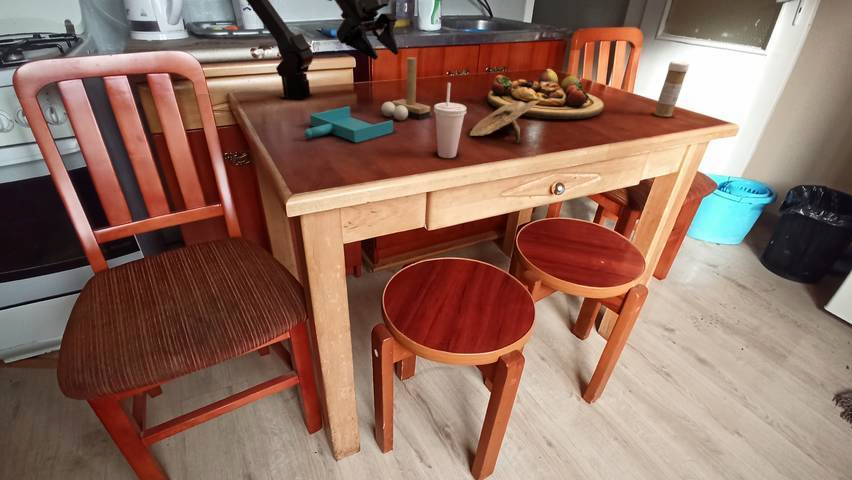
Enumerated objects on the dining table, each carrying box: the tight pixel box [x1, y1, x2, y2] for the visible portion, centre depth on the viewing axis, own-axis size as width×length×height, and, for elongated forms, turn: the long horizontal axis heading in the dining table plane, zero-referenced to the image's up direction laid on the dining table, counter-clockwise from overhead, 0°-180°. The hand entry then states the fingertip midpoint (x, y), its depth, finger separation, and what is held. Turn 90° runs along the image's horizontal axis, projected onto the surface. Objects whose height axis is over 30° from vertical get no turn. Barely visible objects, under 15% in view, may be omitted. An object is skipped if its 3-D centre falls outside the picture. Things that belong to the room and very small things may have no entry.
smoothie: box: [433, 82, 467, 159], centre depth 89 cm, size 6×6×14 cm
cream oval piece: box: [393, 105, 409, 121], centre depth 111 cm, size 4×4×4 cm
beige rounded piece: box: [381, 101, 395, 118], centre depth 114 cm, size 4×4×4 cm
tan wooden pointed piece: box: [469, 100, 540, 144], centre depth 102 cm, size 18×14×8 cm
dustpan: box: [304, 106, 394, 143], centre depth 102 cm, size 18×16×3 cm
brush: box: [391, 56, 431, 121], centre depth 113 cm, size 4×10×13 cm, turn 46°
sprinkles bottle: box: [653, 60, 690, 118], centre depth 119 cm, size 5×5×14 cm
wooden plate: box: [486, 68, 605, 120], centre depth 126 cm, size 32×32×8 cm
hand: (387, 56), depth 113 cm, fingers open, 9 cm apart
